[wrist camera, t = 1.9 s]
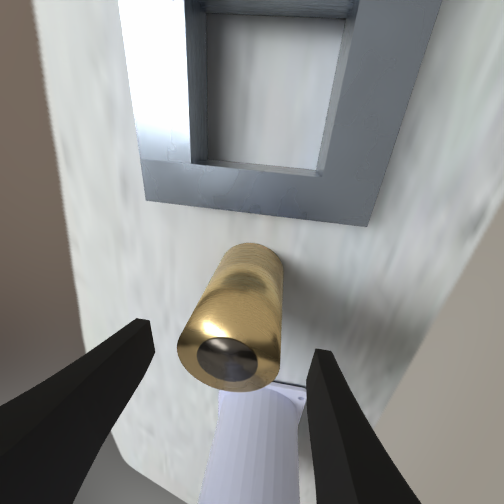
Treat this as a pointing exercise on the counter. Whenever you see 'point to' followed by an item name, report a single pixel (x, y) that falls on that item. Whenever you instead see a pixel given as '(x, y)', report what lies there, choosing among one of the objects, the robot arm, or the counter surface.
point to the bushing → (237, 323)
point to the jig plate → (337, 122)
